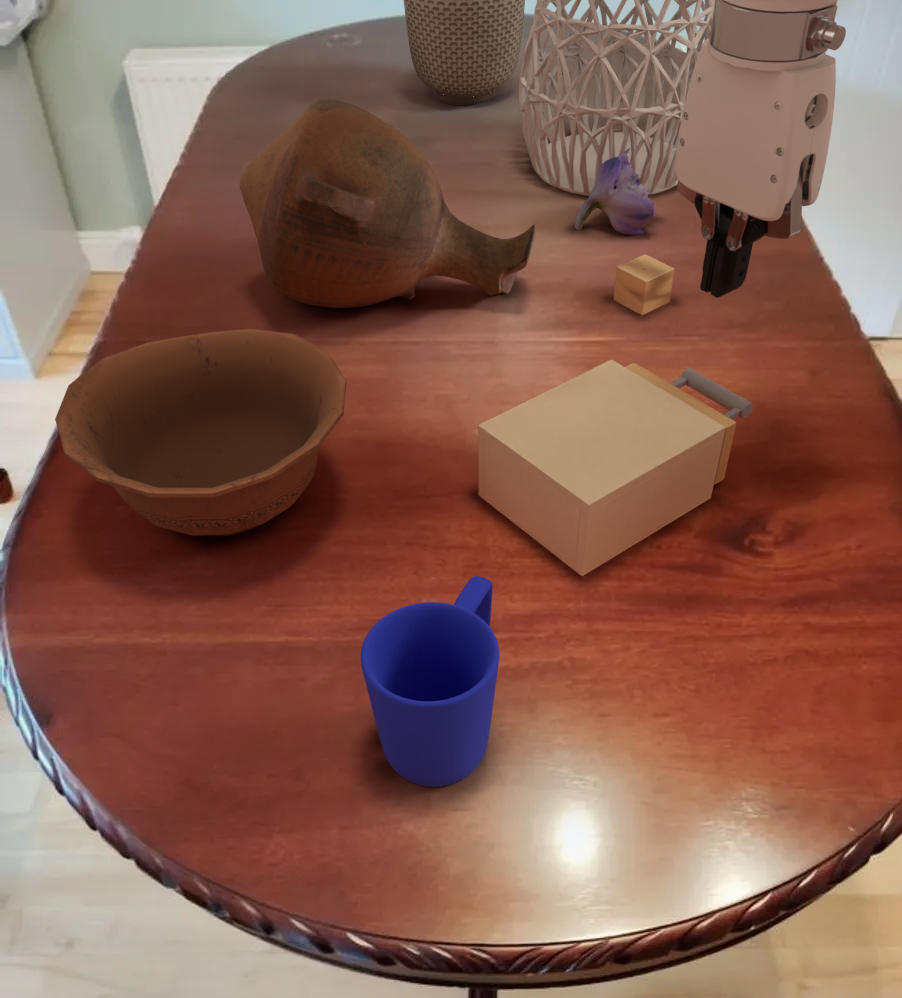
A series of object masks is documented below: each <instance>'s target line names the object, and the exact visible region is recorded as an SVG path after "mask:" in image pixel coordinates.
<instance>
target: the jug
mask: <svg viewBox="0 0 902 998" xmlns="http://www.w3.org/2000/svg"><path fill="white" fill-rule="evenodd" d="M239 190H240V193H241V196H242V199H243V202H244V206H245V208H246V211H247V213H248V215H249V218H250V222H251V225H252V228H253V231H254V234H255V238H256V242H257V245H258V250H259V255H260V259H261V263H262V268H263V271H264V272H263V273H264V276H265V280H266V281H267V283H268V285H269V287H270V288H271V289H272V290H274V291H275V292H276V293H278V294H280V295H282V296H283V297H285V298H287V299H290V300H293V301H295V302H299V303H302V304H306V305H311V306H315V307H319V308H328V309H354V308H361V307H366V306H371V305H375V304H378V303H382V302H385V301H388V300H391V299H392V298H396V297H402V298H404V299H405V300H409V301H410V300H412V299H414V298H415V297H416V293H415V289H416V285H417V284H418V283H419V282H420V281H421V280H423V279H426V278H428V277H434V276H437V277H446V278H451V279H455V280H459V281H462V282H465V283H468V284H470V285H473V286H475V287H477V288H479V289H480V290H482V291H483V292H485V293H486V294H487V295H488V296H493V295H497V294H504V295H507V294H509V293H510V292H511V290H512V287H513V285H514V282H515V280H516V277H517V276H518V272H519V271H521V270H523V269H525V268H526V267H527V265H528V263H529V260H530V257H531V252H532V250H533V249H532V248H533V246H534V245H533V244H534V241H535V238H536V233H537V226H536V224H533V225H531V226H530V227H529V228H527V230H525V231H524V232H523V233H521V234H519V235H516V236H514V237H511V238H500V237H495V236H492V235H490V234H487V233H485V232H483V231H480V230H478V229H476V228H474V227H472V226H470V225H468V224H466V223H465V222H463V221H461V220H460V219H459V218H458V217H456V215H454V214H453V213H452V212H451V210H450V209H449V206H448V205H447V203H446V202H445V199H444V195H443V191H442V189H441V185H440V182H439V180H438V178H437V175H436V173H435V171H434V169H433V168H432V166H431V164H430V162H429V161H428V159H427V158H426V157H425V155H424V154H423V152H422V151H421V150H420V149H419V148H418V147H417V146H416V145H415V144H414V143H413V142H412V141H411V139H409V138H408V137H407V136H406V135H404V134H403V133H401V132H400V131H399V130H397V129H396V128H395V127H393V126H392V125H390V124H389V123H388V122H386V121H384V120H382V119H381V118H379V116H376V115H374V114H372V113H371V112H370V111H368V110H367V109H364V108H361V107H360V106H358V105H355V104H352V103H349V102H346V101H343V100H338V99H334V98H323V99H318V100H316V101H315V102H313V103H312V104H310V105H309V106H308V107H307V108H306V109H305V110H304V111H303V112H302V113H301V114H300V116H299V117H297V118H296V119H295V120H294V121H293V122H292V123H291V124H290V126H289V127H288V128H286V129H285V130H284V131H283V132H282V133H280V134H279V135H278V136H276V138H274V139H272V141H271V142H270V143H269V144H268V145H267V146H265V147H264V148H262V149H261V151H259V152H258V153H257V154H256V155H255V156H253V157H252V158H250V159H249V160H248V162H247V163H245V164H244V166H243V167H242V170H241V174H240V177H239Z"/></svg>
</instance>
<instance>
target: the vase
mask: <svg viewBox="0 0 902 998" xmlns="http://www.w3.org/2000/svg"><path fill="white" fill-rule="evenodd" d="M572 1H573V0H536V4H535V7H534V10H533V11H534V13H533V20H532V25H531V27H530V30H529V34H528V38H527V42H526V45H525V49H524V52H523V56H522V62H521V68H520V73H519V81H518V83H519V84H518V102H519V103H518V104H519V105H518V106H519V108H518V109H519V117H520V125H521V131H522V132H521V133H522V135H523V138H524V141H525V145H526V149H527V151H528V155H529V159H530V162H531V164H532V168H533V170H534V172H535V173H536V174H537V175H538V176H539V177H540V179H542V181H544V182H545V183H547V184H548V185H551V186H552V187H555V188H558V189H560V190H563V191H565V192H569V193H571V194H578V195H581V196H585V197H586V196H587V197H589V196H590V194H591V192H592V190H593V188H594V185H595V182H596V178H597V173H598V171H599V168H600V166H601V165H602V164H603V163H604V162H605V161H606V160H608V159H611V158H614V157H617V156H619V155H620V154H622V153H623V152H624V151H625V150H627V149H628V148H630V150H629V152H628V154H627V156H628V161H629V163H630V164H631V165H632V169H634V171H635V173H636V174H638V175H639V179H640V182H639V184H638V185H640V184H642V185H643V187H644V188H646V189H647V190H648V196H649V195H655V194H659V193H662V192H664V191H667V190H670V189H672V188H674V187H675V186H676V187H677V183H678V178H677V176H676V172H675V159H676V149H677V142H678V135H679V129H680V124H681V119H682V114H683V109H684V105H685V101H686V96H687V92H688V88H689V85H690V81H691V77H692V74H693V71H694V67H695V64H696V61H697V58H698V55H699V52H700V50H701V47H702V44H703V42H704V41H705V40H706V39H708V38H710V32H711V25H712V18H713V12H714V5H715V0H673V1H674V2H675V3H676V4H677V5H678V10H677V11H676V12H675V13H674V15H673V16H672V17H671V19H669V21H664V22H663V20H664V18H665V16H666V13H667V11H668V10H669V6H670V4H671V2H672V0H664V2H663V4H662V6H661V9H660V11H659V14H658V15H657V14H656V12H655V10H654V9H653V7H652V5H651V3H650V2H649V1H650V0H633V2H634V7H632V8H631V10H630V11H629V12H628V13H627V14H626V16H625V17H624V18H623V19H621V21H620V22H618V19H619V17H620V15H621V13H622V11H623V10H624V6H625V5H626V4H627V3H626V2H627V1H628V0H620V3H619V4H618V6H617V8H616V10H615V13H614V14H613V12H612V11H611V9H610V8H609V6H608V4H607V3H606V1H605V0H587V1H588V5H589V7H588V8H587V9H586V11H585V12H584V13H583V14H582V16H581V17H580V19H576V18H574V17H575V14H576V12H577V10H578V9H579V6H580V4H581V2H582V0H574V2H573V5H572V6H571V9H570V10H569V12H568V11H567V9H566V6H568V4H569V3H570V2H572ZM550 3H551V4H552V5H553V6H554V7H555V8H556V9H555V10H554V11H552V10H551V9H549V8H548V7H549V5H550ZM694 4H695V6H694V11H693V12H694V13H693V16H692V13H691V12H690V10H689V8H690V7H691V6H692V5H694ZM598 8H599V11H600V16H601V22H600V19H599V15H598V12H597V10H598ZM643 9H644V11H643ZM700 10H702V12H700ZM644 12H645V13H644ZM548 17H549V18H550V19H549V18H548ZM607 17H608V19H609V24H608V20H607ZM638 18H639V21H640V24H637V21H638ZM702 18H704V19H703V20H702ZM630 19H631V21H630V24H627V23H628V22H629V20H630ZM654 22H655V23H654ZM555 26H556V33H555V31H554V27H555ZM697 27H699V29H698V28H697ZM581 28H583V30H582V32H580V30H581ZM672 28H673V31H671V29H672ZM567 30H568V31H569V33H570V35H569V37H567V38H566V36H567V35H566V34H567V33H566V32H567ZM684 30H685V31H686V35H687V38H685V37H684V36H681V35H680V33H681V32H682V31H684ZM623 31H627V33H626V35H625V34H623ZM657 33H659V34H660V35H659V36H658V39H657ZM595 34H596V40H597V41H596V42H593V41H592V40H591V38H589V37H588V36H592V35H595ZM641 36H643V37H644V41H645V43H640V42H639V41H637V40H636V39H637V38H639V37H641ZM609 37H610V39H609ZM617 39H618V40H617ZM550 41H551V42H552V44H553V47H552V48H551V51H550V52H549V51H548V52H547V50H548V47H549V46H548V45H549V43H550ZM677 42H678V43H680V44H682V45H684V46H685V47H686V52H685V51H684V50H681V49H680V48H678V47H676V45H677ZM589 50H590V52H591V53H593V54H594V56H593V57H592V58H591V60H590V61H589V62H588V61H587V59H585V58H584V57H583V56H582V53H583V52H587V51H589ZM632 50H637V51H639V52H640V53H642V54H643V55H645V56H644V58H643V60H642V61H641V62H640V64H638V63H637V61H635V60H634V59H633V58H632V56H630V54H629V51H632ZM614 55H618V56H619V57H620V60H619V64H618V69H617V74H616V72H615V71H614V69H613V67H612V56H614ZM555 57H556V64H555V65H554V68H553V69H552V70H551V68H552V66H553V63H554V60H555ZM674 57H676V58H677V57H678V58H683V59H684V60H683V62H682V64H681V66H680V67H679V66H678V64H676V62H675V61H674V60H673V58H674ZM571 58H572V59H574V63H573V68H572V74H571V75H570V72H569V68H568V65H567V60H569V59H571ZM660 59H663V60H664V62H665V66H664V67H663V65H662V64H661V62H660ZM690 64H691V65H690ZM631 66H632V67H633V69H634V71H633V72H631V71H632V69H631ZM597 68H598V71H597V73H596V70H597ZM624 69H625V71H624ZM623 72H625V85H624V87H623V85H622V79H623V74H624V73H623ZM555 74H556V76H555ZM651 74H652V75H651ZM675 74H676V76H675ZM554 76H555V77H554ZM650 77H651V99H650V103H649V107H645V101H646V90H647V85H648V83H649V79H650ZM661 78H662V79H661ZM602 79H603V86H604V87H603V88H604V94H605V102H606V107H604V108H602V87H601V86H602V84H601V83H602ZM636 79H637V81H635V80H636ZM593 80H594V83H595V91H594V92H595V94H594V103H593V108H592V107H589V106H588V91H589V89H590V86H591V83H592V81H593ZM635 82H636V85H635V87H634V88H635V89H634V93H633V97H632V100H631V96H632V95H631V94H632V88H633V85H634V83H635ZM612 83H613V85H614V89H613V88H612V87H613V85H612ZM579 84H580V95H579V98H578V100H577V96H578V95H577V94H578V85H579ZM665 86H667V87H668V94H667V96H666V99H665V100H664V90H665ZM678 86H679V95H678V92H677V88H678ZM551 87H552V89H553V91H554V99H550V98H549V92H550V89H551ZM656 90H657V96H656ZM563 91H564V92H563ZM563 93H564V94H563ZM563 95H564V97H563ZM630 101H631V102H630ZM621 103H622V106H623V108H620V105H621ZM630 103H631V105H630ZM543 106H544V108H543ZM551 106H552V107H553V108H554V114H555V115H554V116H553V113H552V110H551ZM543 109H544V113H543ZM589 115H593V125H592V127H591V128H590V124H589ZM645 115H647V121H646V126H645V130H644V131H643V130H641V128H640V127H638V124H639V121H640V119H641V117H643V116H645ZM580 116H581V117H582V120H581V118H580ZM656 116H658V117H660V118H659V120H658V121H657V122H656V124H654V122H655V119H656ZM600 117H603V118H606V123H605V124H604V125H603V126H601V127H599V128H598V126H599V125H598V124H599V120H600ZM566 118H568V123H569V129H570V130H569V131H570V135H568V136H566V133H565V119H566ZM670 119H671V123H670V125H669V127H668V130H667V122H668V121H670ZM619 124H621V125H622V131H615V130H614V129H615V126H616V125H619ZM666 132H667V133H666ZM652 135H653V137H652Z"/></svg>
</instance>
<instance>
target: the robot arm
mask: <svg viewBox="0 0 902 998" xmlns="http://www.w3.org/2000/svg"><path fill="white" fill-rule="evenodd" d="M837 11H838V0H715V5H714V12H713V18H712V25H711V32H710V38H708V39H706V40H705V39H704V40H705V41H704V40H703V44H702V47H701V50H700V52H699V55H698V58H697V61H696V64H695V67H694V71H693V74H692V77H691V81H690V83H689V87H688V90H687V93H686V96H685V105H684V109H683V111H682V113H683V114H682V119H681V124H680V129H679V135H678V134H677V136H678V142H677V149H676V159H675V172H676V176H677V178H678V183H677V185H676V190H677V192H678V193H679V194H680V195H681V196H683V197H684V198H685V199H686V200H687V201H688V202H689V203H691V204H692V205H693V204H694V207H695V209H696V211H697V214H698V217H699V218H700V221H701V226H700V232H701V235H702V237H703V238H704V239H705V240H706V245H705V252H704V257H703V262H702V263H703V264H702V275H701V281H700V287H699V288H700V290H701V291H702V292H705V293H710V295H711V296H712V297H714V298H717V299H718V298H720V297H723V296H725V295H726V294H727V295H728V294H729V293H731V292H733V291H735V290H737V289H739V288H741V287H742V286H743V284H744V282H745V281H746V278H747V275H748V269H749V265H750V260H751V255H752V251H753V245H754V243H755V242H758V241H760V240H761V239H762V238H764V237H767V238H773V239H780V240H788V239H790V238H792V237H795V236H796V235H798V234H800V232H802V220H803V219H802V218H803V217H802V216H803V207H808V206H809V207H810V206H811V205H813V204H814V203H815V202H816V201H817V199H818V197H819V193H820V190H821V188H822V187H821V186H822V182H823V177H824V174H825V173H824V172H825V168H826V163H827V157H828V153H829V146H830V140H831V135H832V127H833V119H834V110H835V99H836V82H837V80H836V79H837V78H836V77H837V76H836V75H837V74H836V72H837V67H836V62H837V61H836V58H835V57H834V56H831V55H828V54H826V53H827V52H828V50H832V51H837V50H839V49H840V48H841V46H842V45H843V43H844V42H845V38H846V36H847V35H846V34H847V30H846V27H845V26H843V25H839V24H837V22H836V21H835V19H836V15H837Z"/></svg>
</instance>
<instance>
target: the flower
mask: <svg viewBox="0 0 902 998" xmlns="http://www.w3.org/2000/svg"><path fill="white" fill-rule="evenodd" d="M629 150H630V148H628V149H627V150H625V151H624V152H623V153H622V154H620V155H619V156H617V157H614V158H611V159H608V160H606V161H605V162H604V163H603V164H602V165H601V166H600V168H599V171H598V173H597V178H596V182H595V185H594V188H593V190H592V192H591V194H590V196H588V198H587V199H586V200H585V201H584V202H583V203H582V204H581V206H580V208H579V210H578V213H577V214H576V217H575V222H574V229H575V230H576V231H582V230H583V226H584V223H585V222H586V220H587V219H588V217H589V216H590V215H591V213H592V212H593V211H594V210H595V209H599V210H601V211H602V212H604V214H605V215H606V216H607V217H608V220H609V222H610V225H611V227H612V228H613V230H614V231H616V232H617V233H619V234H621V235H623V236H624V235H625V236H641V235H643V234H644V233H645V231H644V230H641V229H642V228H643V227H645V226H646V225H647V224H648V223H649V222H650V221H652V220H653V219H654V218H655V216H656V213H657V212H655V205H654V201H653V200H652V198H651V197H649V195H648V190H647V189H646V188H644V187H643V185H642V184H640V185H638V184H639V182H640V179H639V175H638V174H636V173H635V171H634V169H632V165H631V164H630V163H629V161H628V156H627V154H628V152H629Z"/></svg>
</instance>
